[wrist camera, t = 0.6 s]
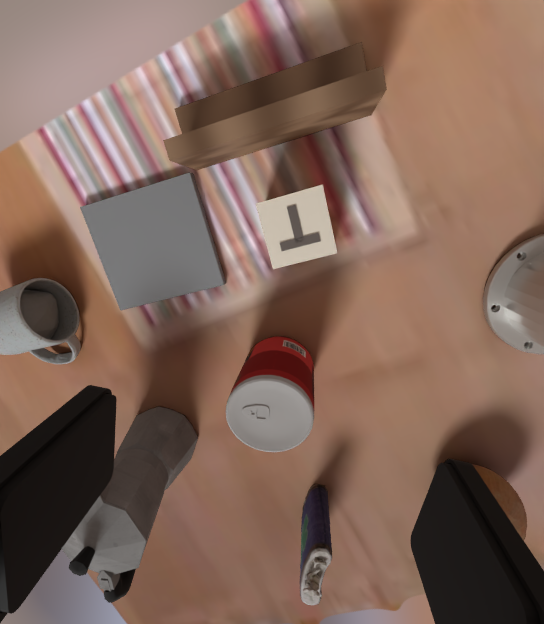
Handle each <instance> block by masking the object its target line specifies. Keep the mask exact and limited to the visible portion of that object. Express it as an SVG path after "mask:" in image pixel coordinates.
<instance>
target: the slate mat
mask: <svg viewBox="0 0 544 624" xmlns="http://www.w3.org/2000/svg"><path fill="white" fill-rule="evenodd" d="M80 208H81V211H82V213H83V216H84V218H85V221H86V224H87V226H88V229H89V231H90V234H91V236H92V239H93V241H94V244H95V247H96V249H97V252H98V254H99V257H100V259H101V262H102V264H103V267H104V270H105V272H106V275H107V277H108V280H109V282H110V285H111V287H112V290H113V293H114V295H115V298H116V300H117V303H118V305H119V308H120V310H124V309H128V308H132V307H136V306H141V305H145V304H149V303H153V302H157V301H161V300H165V299H169V298H173V297H177V296H181V295H185V294H189V293H193V292H197V291H201V290H205V289H209V288H213V287H217V286H221V285H224V284H226V281H225V278H224V274H223V271H222V268H221V265H220V261H219V258H218V255H217V251H216V248H215V245H214V242H213V238H212V235H211V232H210V228H209V225H208V222H207V218H206V215H205V212H204V209H203V205H202V202H201V199H200V195H199V192H198V189H197V185H196V182H195V179H194V176H193V173H186V174H183V175H180V176H177V177H174V178H171V179H168V180H164V181H161V182H158V183H155V184H152V185H149V186H145V187H142V188H139V189H136V190H133V191H130V192H127V193H123V194H120V195H117V196H114V197H111V198H108V199H104V200H101V201H98V202H95V203H92V204H89V205H86V206H82V207H80Z"/></svg>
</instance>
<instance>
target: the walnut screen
mask: <svg viewBox="0 0 544 624" xmlns="http://www.w3.org/2000/svg"><path fill="white" fill-rule="evenodd" d="M386 90H387V89H386V83H385V76H384V70H383V66H381V67H378V68H375V69H372V70H369V71H367V70H366V64H365V59H364V53H363V47H362V42H361V43H358V44H355V45H352V46H349V47H347V48H344V49H341V50H338V51H335V52H333V53H330V54H327V55H324V56H321V57H318V58H316V59H313V60H310V61H307V62H304V63H302V64H299V65H296V66H293V67H290V68H288V69H285V70H282V71H279V72H276V73H274V74H271V75H268V76H265V77H262V78H260V79H257V80H254V81H251V82H248V83H246V84H243V85H240V86H237V87H234V88H232V89H229V90H226V91H223V92H220V93H218V94H215V95H212V96H209V97H206V98H204V99H201V100H198V101H195V102H192V103H190V104H187V105H184V106H181V107H178V108H176V109H175V112H176V115H177V118H178V122H179V125H180V128H181V131H182V134H181V135H178V136H175V137H172V138H169V139H166V140H163V141H164V144H165V147H166V150H167V154H168V157H169V160H170V161H172V162H175V163H178V164H181V165H184V166H186V167H189V168H192V169H195V170H199V169H202V168H205V167H208V166H212V165H215V164H218V163H221V162H224V161H227V160H230V159H234V158H237V157H240V156H243V155H246V154H249V153H253V152H256V151H259V150H262V149H265V148H268V147H271V146H275V145H278V144H281V143H284V142H287V141H290V140H294V139H297V138H300V137H303V136H306V135H309V134H312V133H316V132H319V131H322V130H325V129H328V128H331V127H335V126H338V125H341V124H344V123H347V122H350V121H353V120H357V119H360V118H363V117H366V116H369V115H372V113H373V111H374V110H375V108H376V106H377V105H378V103H379V101H380V100H381V98H382V96H383V95H384V93H385V91H386Z"/></svg>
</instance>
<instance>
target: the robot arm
mask: <svg viewBox="0 0 544 624" xmlns="http://www.w3.org/2000/svg"><path fill="white" fill-rule="evenodd" d="M517 254H519V255H518V257H517ZM493 305H494V306H493ZM492 306H493V308H491V307H492ZM483 310H484V314H485V317H486V321H487V322H488V324H489V326H490V328H491V330H492V331H493V332H494V333H495V334H496V335H497V336H498V337H499V338H500V339H502V340H503V341H504V342H506V343H507V344H509V345H510V346H512V347H514V348H516V349H518V350H521V351H524V352H527V353H534V354H544V234H540V235H537V236H534V237H532V238H530V239H527V240H525V241H524V242H522V243H520V244H519V245H517V246H515V247H514V248H513V249H511V250H510V251H509V252H508V253H507V254H506V255H504V256H503V258H502V259H501V260H500V261H499V262H498V263H497V265H496V266H495V267H494V269H493V271H492V272H491V274H490V276H489V278H488V281H487V283H486V286H485V289H484V296H483ZM115 420H116V396H114V395H112V392H111V390H110V389H107V388H102V387H97V386H92V385H89V386H87V387H86V388H84V389H83V390H82V391H81V392H79V393H78V394H77V395H76V396H74V397H73V398H72V399H71V400H69V401H68V402H67V403H66V404H64V405H63V406H62V407H61V408H59V409H58V410H57V411H56V412H54V413H53V414H52V415H51V416H49V417H48V418H47V419H46V420H44V421H43V422H42V423H41V424H40V425H38V426H37V427H36V428H35V429H33V430H32V431H31V432H30V433H28V434H27V435H26V436H25V437H23V438H22V439H21V440H20V441H18V442H17V443H16V444H15V445H13V446H12V447H11V448H10V449H8V450H7V451H6V452H5V453H3V454H2V455H1V456H0V623H1V621H2V620H3V619H4V617H5V616H6V614H7V613H14V612H15V611H16V610H17V609H18V608H19V607H20V606H21V604H22V603H23V601H24V600H25V599H26V597H27V596H28V594H29V593H30V592H31V590H32V589H33V588H34V586H35V585H36V583H37V582H38V581H39V579H40V577H42V575H43V574H44V572H45V571H46V569H47V568H48V567H49V566H50V564H51V563H52V561H53V560H54V558H55V557H56V556H57V554H58V553H59V552H60V550H61V549H62V547H63V546H64V545H65V543H66V542H67V541H68V539H69V538H70V536H71V535H72V534H73V532H74V531H75V529H76V528H77V527H78V525H79V524H80V522H81V521H82V520H83V518H84V517H85V515H86V514H87V513H88V511H89V510H90V509H91V507H92V506H93V504H94V503H95V502H96V500H97V499H98V497H99V496H100V495H101V493H102V492H103V490H104V489H105V488H106V486H107V485H108V483H109V482H110V480H111V477H112V474H113V469H114V445H115ZM411 548H412V552H413V555H414V558H415V561H416V564H417V568H418V571H419V574H420V577H421V580H422V583H423V587H424V590H425V593H426V596H427V599H428V602H429V605H430V608H431V612H432V615H433V618H434V621H435V624H544V571H543V569H542V568H541V566H540V565H539V563H538V562H537V560H536V559H535V557H534V556H533V554H532V553H531V551H530V550H529V548H528V547H527V545H526V544H525V542H524V541H523V539H522V538H521V536H520V535H519V533H518V532H517V530H516V529H515V527H514V526H513V524H512V523H511V521H510V520H509V518H508V517H507V515H506V514H505V512H504V511H503V509H502V508H501V506H500V505H499V503H498V502H497V500H496V499H495V497H494V496H493V494H492V493H491V491H490V490H489V488H488V487H487V485H486V484H485V482H484V481H483V479H482V478H481V476H480V475H479V473H478V472H477V470H476V469H475V467H474V466H473V465H472V464H471V463H468V462H463V461H458V460H453V459H447V460H446V461H445V463H440V464H439V465H438V467H437V470H436V472H435V475H434V477H433V480H432V483H431V485H430V488H429V490H428V493H427V495H426V498H425V501H424V503H423V506H422V508H421V511H420V513H419V516H418V519H417V521H416V524H415V526H414V529H413V531H412V534H411Z"/></svg>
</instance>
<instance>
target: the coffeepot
mask: <svg viewBox="0 0 544 624" xmlns="http://www.w3.org/2000/svg"><path fill="white" fill-rule="evenodd" d="M197 439H198V437H197V435H196V433H195V431H194V428H193V426H192V425H191V423H190V422H189V421H188V420H187V419H186V417H185V416H184V415H182V414H180V413H178V412H176V411H174V410H172V409H168V408H162V407H156V408H153V409H149V410H147V411H145V412H143V413H141V414H139V415H137V416H136V418H135V420H134V421H133V423H132V425H131V427H130V429H129V431H128V433H127V434H126V436H125V438H124V440H123V442H122V444H121V446H120V447H119V449H118V452H117V454H116V458H115V459H114V469H113V474H112V477H111V480H110V482H109V483H108V485H107V486H106V488H105V489H104V490H103V492H102V493H101V495H100V496H99V497H98V499H97V500H96V502H95V503H94V504H93V506H92V507H91V509H90V510H89V511H88V513H87V514H86V515H85V517H84V518H83V520H82V521H81V522H80V524H79V525H78V527H77V528H76V529H75V531H74V532H73V534H72V535H71V536H70V538H69V539H68V541H67V542H66V543H65V545H64V546H63V547H62V550H63V551H64V553H65V554H66V555H67V557H68V558H69V559H70V560H71V562H70V565H69V569H70V570H71V571H72V572H73V573H74V574H77V575H79V576H81V575H84V574H86V573H87V570H88V569H89V570H92V571H95V572H97V573H99V575H98V577H97V578H98V582H99V586H100V589H104V597H105V599H106V600H107V601H108V602H111V603H112V602H114V601H116V600H118V599H120V598H121V597H123V596H125V595H126V593H127V592H128V591H129V588H130V586H131V583H132V580H133V576H134V573H135V570H136V568H138V567H139V565H140V561H141V558H142V555H143V552H144V549H145V546H146V544H147V541H148V538H149V535H150V532H151V529H152V526H153V523H154V520H155V518H156V515H157V512H158V509H159V506H160V503H161V500H162V497H163V494H164V490H166V489H167V488H168V487H169V486H170V485H171V483H172V482H173V481H174V480H175V478H176V477H177V476H178V475H179V473H180V472H181V471H182V470H183V468H184V467H185V466H186V465H187V463H188V462H189V461H190V459H191V458H192V455H193V452H194V449H195V445H196V442H197Z"/></svg>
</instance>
